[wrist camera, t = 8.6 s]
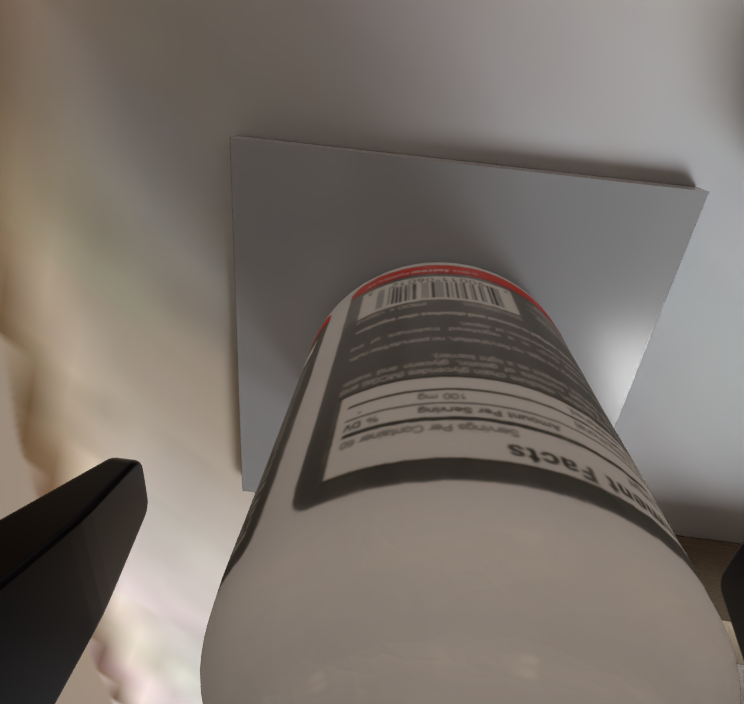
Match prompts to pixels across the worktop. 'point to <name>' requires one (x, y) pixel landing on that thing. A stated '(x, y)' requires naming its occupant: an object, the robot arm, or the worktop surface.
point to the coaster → (439, 256)
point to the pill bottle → (456, 525)
